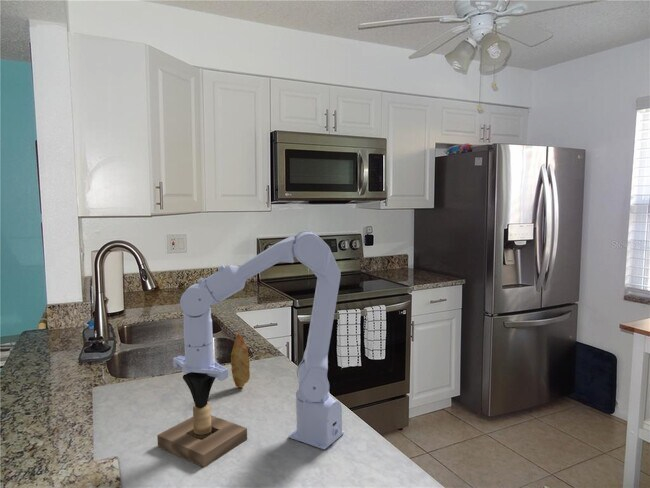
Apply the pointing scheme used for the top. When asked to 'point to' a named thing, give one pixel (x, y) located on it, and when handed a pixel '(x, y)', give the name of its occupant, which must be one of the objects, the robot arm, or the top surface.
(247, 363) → the stone tool
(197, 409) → the dowel
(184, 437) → the board
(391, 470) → the top surface
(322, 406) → the robot arm
